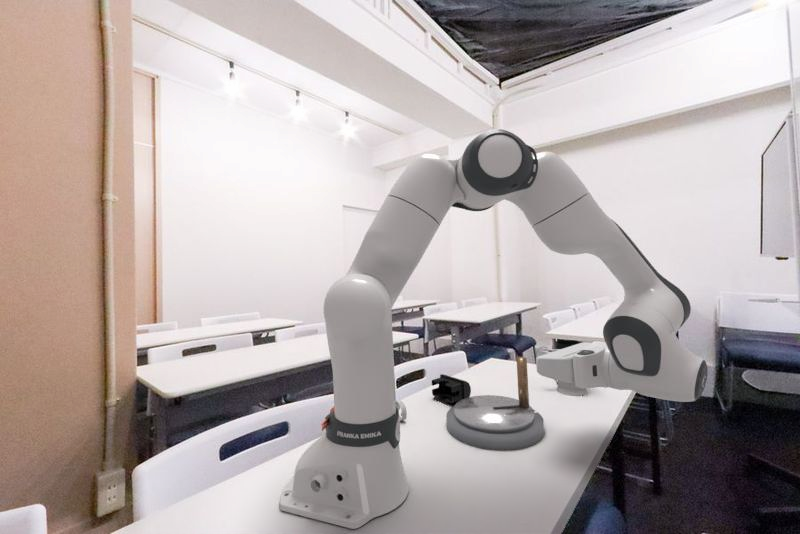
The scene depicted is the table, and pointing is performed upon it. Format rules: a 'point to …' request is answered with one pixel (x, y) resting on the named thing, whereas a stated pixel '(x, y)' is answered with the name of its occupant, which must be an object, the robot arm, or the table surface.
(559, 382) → the glass holder
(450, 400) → the end cap
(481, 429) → the dial
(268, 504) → the table surface
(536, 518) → the table surface
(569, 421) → the table surface
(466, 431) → the base
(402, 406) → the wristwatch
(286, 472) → the table surface
